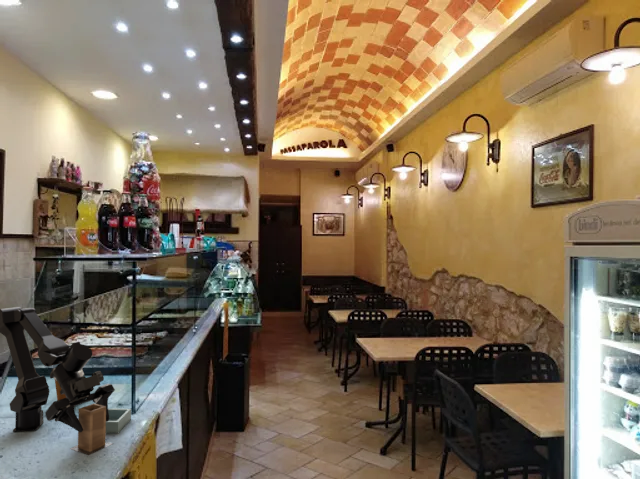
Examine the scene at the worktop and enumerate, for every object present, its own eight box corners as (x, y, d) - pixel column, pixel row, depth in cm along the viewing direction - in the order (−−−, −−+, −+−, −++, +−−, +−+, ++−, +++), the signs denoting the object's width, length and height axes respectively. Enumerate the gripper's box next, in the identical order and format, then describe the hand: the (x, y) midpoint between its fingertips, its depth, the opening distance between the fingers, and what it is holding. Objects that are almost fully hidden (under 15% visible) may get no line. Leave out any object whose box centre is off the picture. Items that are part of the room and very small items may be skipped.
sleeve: (77, 447, 131) (78, 408, 131) (93, 440, 135) (94, 403, 135) (89, 451, 129) (90, 412, 128) (105, 444, 133) (106, 406, 133)
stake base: (69, 450, 130) (69, 434, 130) (94, 439, 137) (94, 424, 137) (88, 457, 127) (88, 440, 127) (113, 445, 134) (113, 429, 134)
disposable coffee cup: (62, 412, 157) (62, 377, 157) (47, 406, 162) (47, 372, 162) (89, 404, 165) (89, 370, 165) (73, 398, 170) (74, 366, 170)
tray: (82, 434, 140) (82, 421, 140) (97, 420, 151) (98, 408, 151) (118, 435, 141) (118, 422, 141) (130, 421, 151) (131, 408, 151)
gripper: (52, 372, 125) (79, 421, 120) (111, 357, 142) (136, 399, 137) (34, 396, 129) (59, 445, 124) (93, 378, 145) (117, 420, 141)
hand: (95, 425), depth 131 cm, fingers open, 8 cm apart
